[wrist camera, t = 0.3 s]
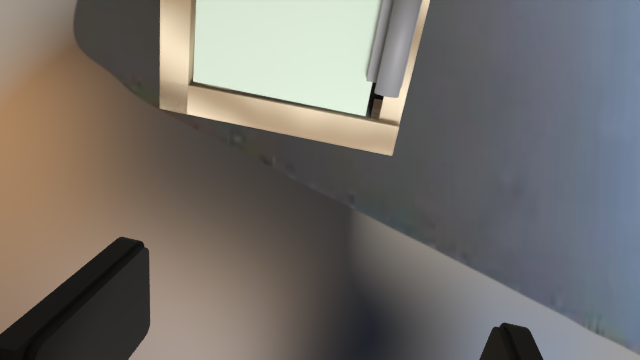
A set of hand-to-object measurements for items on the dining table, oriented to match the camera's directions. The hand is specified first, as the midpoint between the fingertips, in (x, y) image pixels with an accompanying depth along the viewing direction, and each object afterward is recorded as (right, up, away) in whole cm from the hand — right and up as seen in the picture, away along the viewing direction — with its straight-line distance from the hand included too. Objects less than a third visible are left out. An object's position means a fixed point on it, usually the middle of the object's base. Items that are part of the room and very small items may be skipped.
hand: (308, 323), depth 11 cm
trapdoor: (-1, +16, +17) cm, 23 cm away
